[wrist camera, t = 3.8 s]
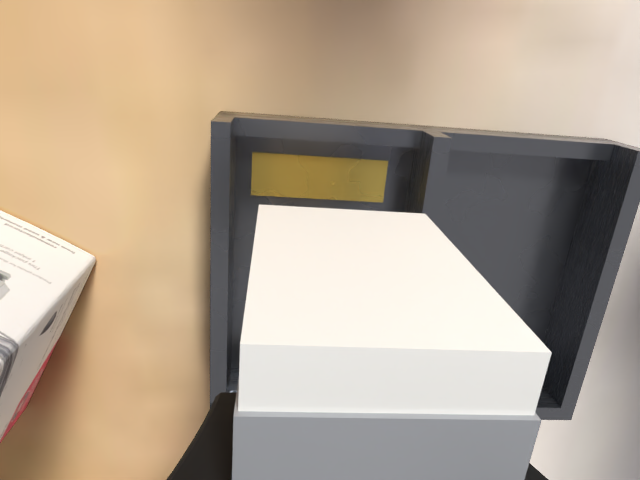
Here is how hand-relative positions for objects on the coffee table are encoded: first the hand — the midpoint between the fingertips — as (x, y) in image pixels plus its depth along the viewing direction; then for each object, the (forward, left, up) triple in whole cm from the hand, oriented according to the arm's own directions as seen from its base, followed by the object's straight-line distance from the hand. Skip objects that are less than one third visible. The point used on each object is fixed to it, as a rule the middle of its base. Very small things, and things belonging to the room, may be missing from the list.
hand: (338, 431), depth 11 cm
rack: (-4, 0, -10) cm, 11 cm away
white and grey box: (0, 0, -2) cm, 3 cm away
